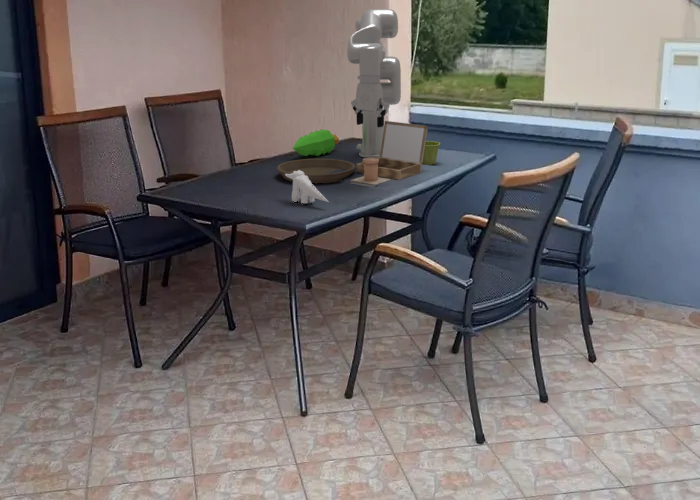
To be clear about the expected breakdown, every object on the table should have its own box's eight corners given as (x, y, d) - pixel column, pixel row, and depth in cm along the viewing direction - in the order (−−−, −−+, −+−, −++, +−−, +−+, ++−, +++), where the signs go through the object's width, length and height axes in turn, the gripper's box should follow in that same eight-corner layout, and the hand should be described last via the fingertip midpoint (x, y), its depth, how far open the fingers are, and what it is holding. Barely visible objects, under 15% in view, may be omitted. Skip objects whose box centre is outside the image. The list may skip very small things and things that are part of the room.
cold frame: (356, 175, 349) (356, 163, 348) (379, 168, 360) (379, 157, 359) (399, 182, 337) (399, 170, 335) (421, 174, 348) (421, 163, 347)
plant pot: (439, 161, 371) (440, 141, 368) (439, 166, 362) (440, 145, 359) (417, 161, 372) (417, 141, 369) (417, 166, 363) (417, 145, 360)
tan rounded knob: (359, 180, 337) (359, 159, 334) (369, 177, 341) (369, 157, 339) (372, 182, 333) (372, 161, 330) (382, 179, 338) (382, 158, 335)
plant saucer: (319, 164, 370) (318, 154, 368) (371, 175, 349) (371, 164, 347) (261, 177, 349) (261, 166, 348) (313, 190, 328) (313, 178, 327)
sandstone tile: (350, 182, 337) (350, 180, 337) (366, 177, 345) (366, 175, 344) (375, 187, 330) (375, 184, 330) (390, 181, 338) (390, 179, 337)
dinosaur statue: (292, 193, 320) (293, 164, 315) (336, 212, 304) (337, 181, 299) (277, 197, 315) (278, 167, 311) (321, 216, 299) (322, 185, 295)
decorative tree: (339, 123, 391) (297, 131, 367) (347, 148, 392) (306, 158, 368) (320, 131, 398) (278, 139, 374) (328, 155, 399) (286, 165, 375)
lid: (385, 120, 357) (386, 121, 358) (379, 156, 359) (380, 157, 360) (427, 125, 345) (428, 126, 346) (421, 163, 347) (422, 163, 347)
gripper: (345, 79, 328) (346, 124, 333) (382, 82, 317) (382, 129, 323) (357, 77, 333) (358, 121, 339) (394, 80, 323) (394, 126, 328)
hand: (370, 125), depth 331 cm, fingers open, 9 cm apart
